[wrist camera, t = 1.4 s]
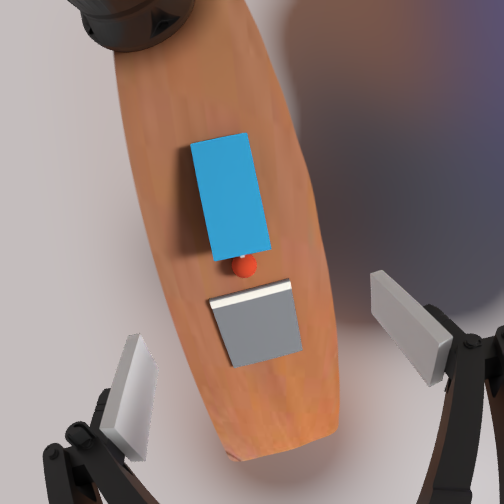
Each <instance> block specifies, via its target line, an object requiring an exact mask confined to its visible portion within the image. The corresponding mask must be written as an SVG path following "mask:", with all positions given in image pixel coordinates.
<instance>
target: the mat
mask: <svg viewBox="0 0 504 504" xmlns="http://www.w3.org/2000/svg"><path fill="white" fill-rule="evenodd" d="M209 301H210V305H211V307H212V310H213V313H214V316H215V318H216V321H217V324H218V327H219V329H220V332H221V335H222V338H223V340H224V343H225V346H226V348H227V351H228V354H229V356H230V359H231V362H232V364H233V367H234V368H236V367H241V366H245V365H249V364H253V363H257V362H261V361H265V360H269V359H273V358H277V357H281V356H284V355H288V354H291V353H295V352H298V351H302V344H301V338H300V333H299V327H298V322H297V316H296V311H295V305H294V300H293V295H292V289H291V284H290V280H289V278H288V279H284V280H280V281H277V282H273V283H269V284H265V285H262V286H258V287H254V288H250V289H246V290H242V291H238V292H235V293H231V294H227V295H223V296H219V297H215V298H211V299H209Z"/></svg>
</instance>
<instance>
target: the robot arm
mask: <svg viewBox="0 0 504 504" xmlns="http://www.w3.org/2000/svg"><path fill="white" fill-rule="evenodd" d="M68 1H69V2H70V3H71V4H73V5H74V6H75V7H77V8H78V9H79V10H80V12H81V17H82V22H83V26H84V28H85V30H86V32H87V34H88V35H89V36H90V37H91V38H92V39H93V40H94V41H95V42H97V43H98V44H100V45H101V46H103V47H105V48H107V49H110V50H113V51H119V52H132V51H138V50H142V49H146V48H149V47H152V46H154V45H156V44H158V43H160V42H162V41H164V40H166V39H167V38H169V37H170V36H171V35H173V34H174V33H175V32H176V31H177V30H178V29H179V28H180V27H181V26H182V25H183V24H184V23H185V21H186V20H187V19H188V17H189V15H190V13H191V11H192V9H193V6H194V1H195V0H68ZM370 278H371V313H372V314H373V316H374V317H375V318H376V319H377V320H378V322H379V323H380V324H381V326H382V327H383V328H384V329H385V331H386V332H387V333H388V334H389V336H390V337H391V338H392V339H393V341H394V342H395V343H396V345H397V346H398V347H399V348H400V350H401V351H402V352H403V353H404V355H405V356H406V357H407V358H408V360H409V361H410V362H411V364H412V365H413V366H414V368H415V369H416V370H417V372H418V373H419V374H420V376H421V377H422V378H423V380H424V381H425V382H426V383H427V385H428V386H429V387H431V386H432V385H435V384H436V383H438V382H440V381H442V379H443V375H444V372H445V373H446V374H447V375H448V377H449V378H448V381H447V385H446V388H445V392H446V394H445V400H444V406H443V411H442V416H441V421H440V426H439V430H438V434H437V439H436V443H435V447H434V450H433V454H432V458H431V461H430V465H429V468H428V472H427V474H426V478H425V481H424V484H423V487H422V489H421V493H420V495H419V498H418V501H417V503H416V504H471V500H472V492H471V490H470V486H471V481H472V477H473V472H474V467H475V462H476V457H477V451H478V445H479V438H480V429H481V422H482V412H483V399H484V382H485V386H486V391H487V395H488V400H489V405H490V410H491V415H492V421H493V427H494V434H495V441H496V449H497V457H498V458H497V459H498V470H499V490H500V504H504V325H503V326H501V327H499V328H498V329H497V331H496V334H495V336H492V337H488V338H483V339H482V338H481V337H480V336H478V335H476V334H466V333H464V332H463V331H462V330H461V329H460V328H459V327H458V326H457V325H456V324H455V323H454V322H453V321H452V320H451V319H449V318H448V317H447V316H446V315H445V314H444V313H443V312H442V311H441V310H440V309H439V308H437V307H435V306H433V305H430V304H428V305H425V306H423V307H422V306H421V305H420V304H419V303H418V302H417V301H416V300H415V299H414V298H413V297H411V296H410V295H409V294H408V293H407V292H406V291H405V290H404V289H403V288H402V287H401V286H399V285H398V284H397V283H396V282H395V281H394V280H393V279H392V278H390V277H389V276H388V275H387V274H386V273H385V272H384V271H383V270H380V271H377V272H374V273H371V274H370ZM158 371H159V368H158V366H157V364H156V363H155V361H154V359H153V357H152V355H151V353H150V352H149V350H148V348H147V346H146V344H145V342H144V340H143V338H142V336H141V334H140V333H139V334H134V335H129V336H128V338H127V341H126V344H125V347H124V350H123V352H122V356H121V359H120V362H119V365H118V367H117V371H116V374H115V377H114V380H113V383H112V386H111V388H109V389H104V391H103V392H102V393H101V395H100V396H99V399H98V401H97V406H96V408H95V412H94V414H93V417H92V421H91V424H90V427H89V426H88V425H87V424H86V423H85V422H82V421H80V422H75V423H73V424H72V425H70V426H69V427H68V429H67V431H66V433H65V438H66V440H67V441H68V442H69V443H70V444H71V445H72V446H71V447H68V448H63V447H62V446H61V445H60V444H58V443H53V444H50V445H48V446H47V447H46V449H45V450H44V452H43V464H44V474H45V481H46V488H47V494H48V500H49V504H103V503H102V500H101V497H100V494H99V490H100V492H101V493H102V495H103V496H104V498H105V500H106V501H107V502H108V504H159V503H158V502H157V500H156V499H155V498H154V497H153V496H152V495H151V494H150V492H149V491H148V490H147V489H146V488H145V487H144V486H143V484H142V483H141V482H140V481H139V480H138V478H137V477H136V476H135V474H134V473H133V472H132V471H131V469H130V468H129V467H128V466H127V464H125V463H124V458H125V456H126V457H127V458H128V459H129V460H130V461H146V453H147V444H148V436H149V429H150V422H151V415H152V408H153V402H154V395H155V389H156V383H157V377H158ZM98 489H99V490H98Z"/></svg>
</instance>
